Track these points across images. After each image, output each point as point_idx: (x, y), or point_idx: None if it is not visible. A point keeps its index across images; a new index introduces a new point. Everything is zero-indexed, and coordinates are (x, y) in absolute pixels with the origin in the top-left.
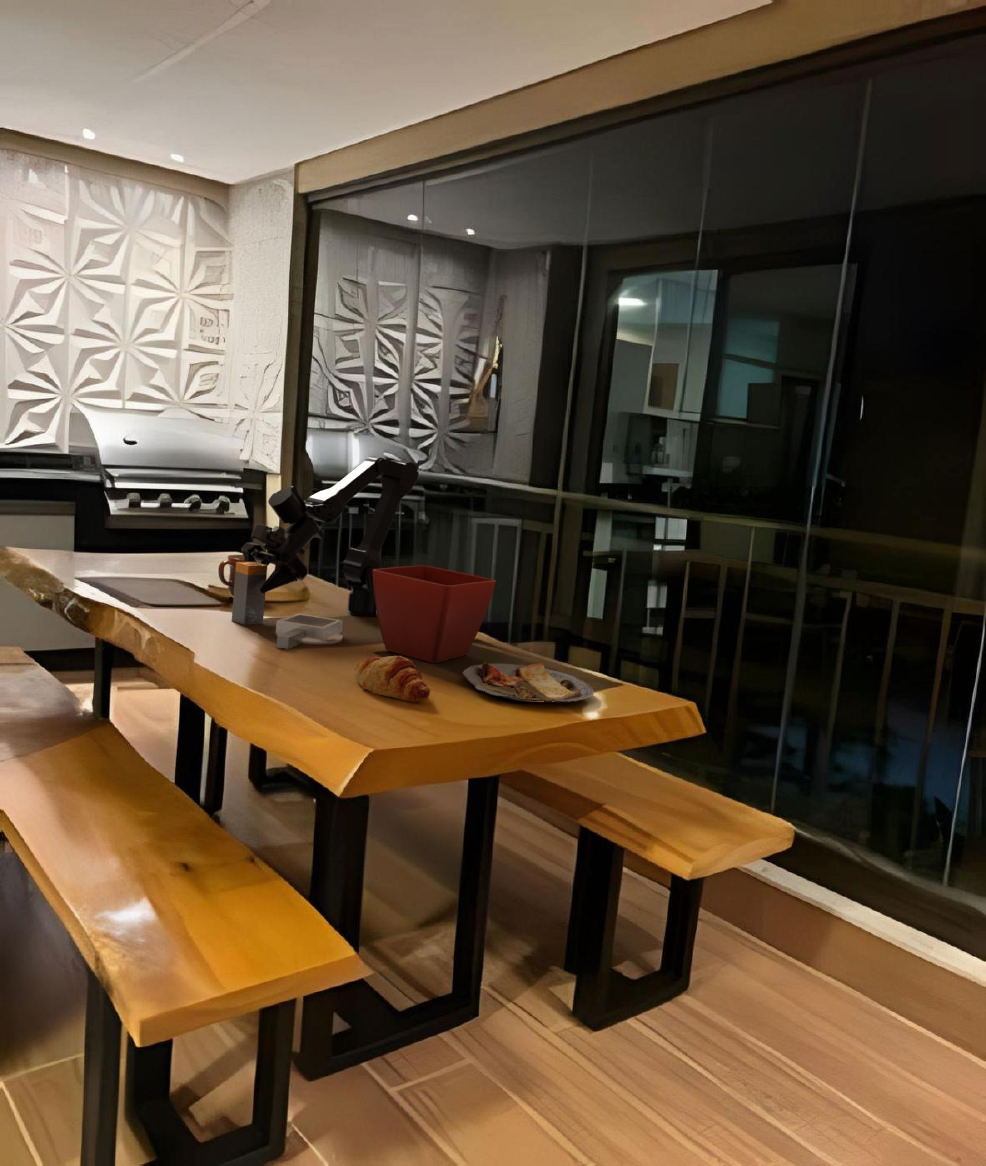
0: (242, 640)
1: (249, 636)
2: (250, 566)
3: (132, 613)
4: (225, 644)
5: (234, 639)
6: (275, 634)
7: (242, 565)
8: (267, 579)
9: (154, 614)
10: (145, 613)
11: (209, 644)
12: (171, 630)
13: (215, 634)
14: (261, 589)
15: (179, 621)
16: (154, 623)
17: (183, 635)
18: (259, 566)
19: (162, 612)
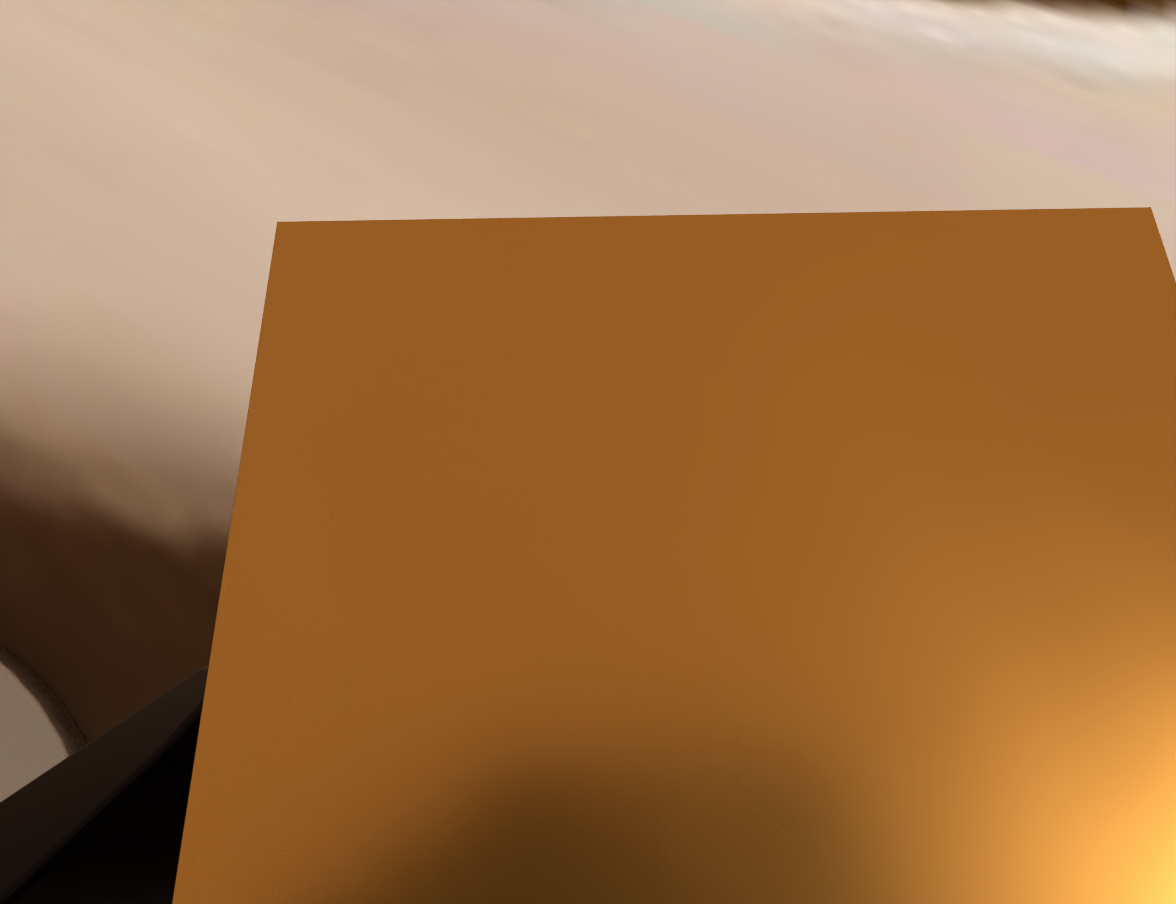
0: (36, 281)
1: (111, 402)
2: (279, 313)
3: (1122, 21)
4: (14, 124)
5: (96, 246)
6: (7, 653)
7: (694, 253)
8: (20, 851)
9: (1080, 130)
10: (1121, 91)
11: (75, 45)
12: (530, 19)
13: (300, 205)
14: (194, 679)
15: (797, 179)
16: (766, 15)
17: (368, 21)
18: (218, 763)
19: (1160, 210)
